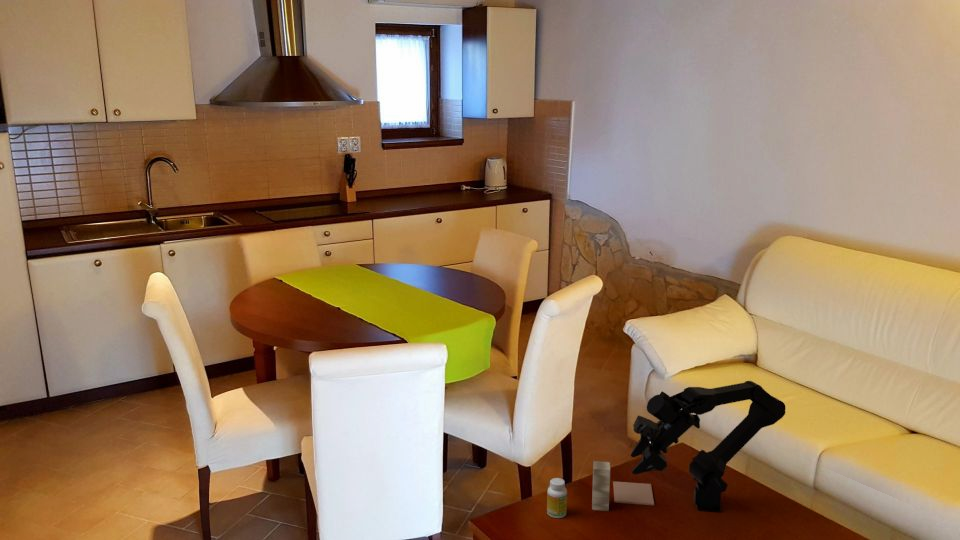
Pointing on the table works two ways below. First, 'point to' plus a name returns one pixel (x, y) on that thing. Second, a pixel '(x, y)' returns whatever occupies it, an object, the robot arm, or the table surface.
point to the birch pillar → (601, 486)
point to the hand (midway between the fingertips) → (632, 464)
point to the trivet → (633, 493)
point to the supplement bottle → (557, 498)
